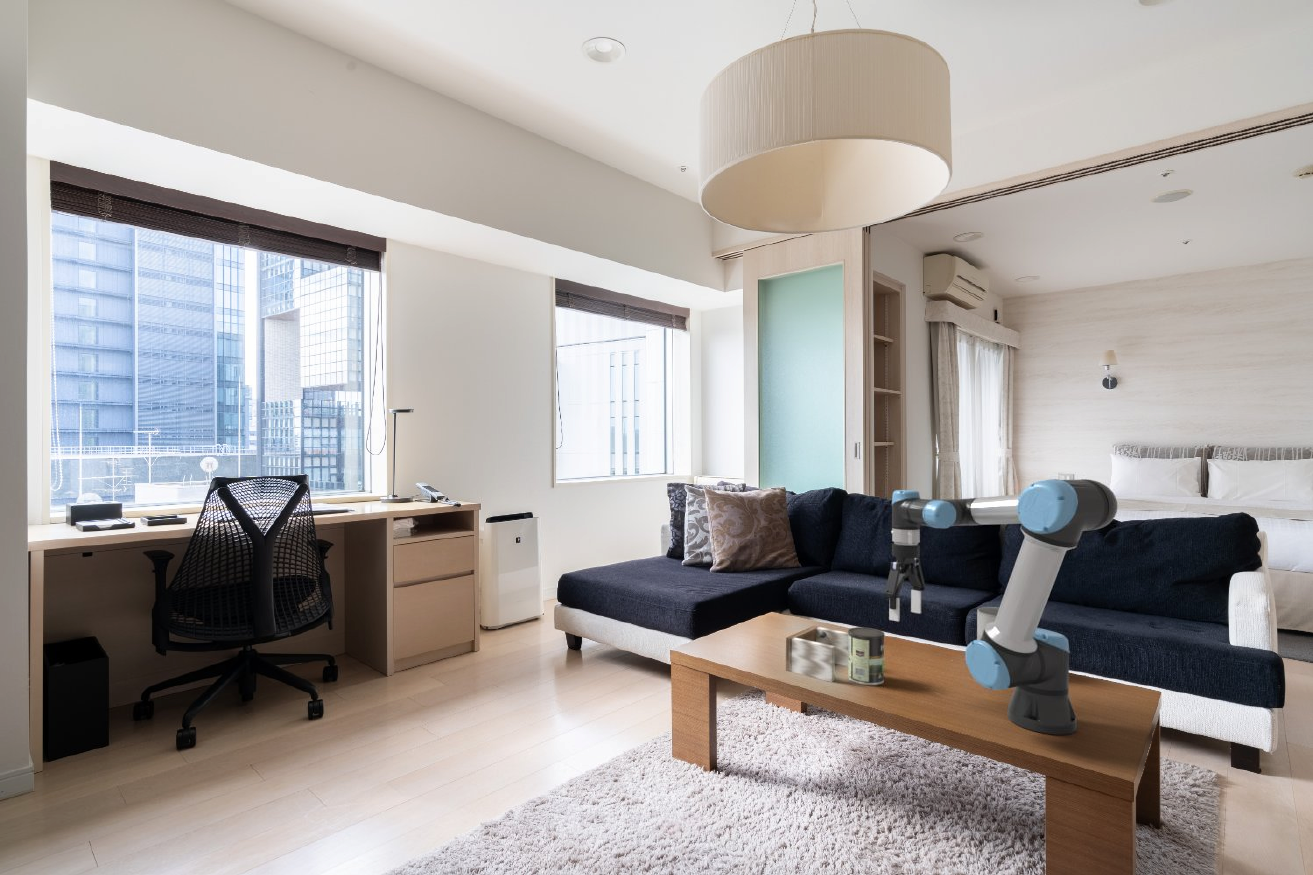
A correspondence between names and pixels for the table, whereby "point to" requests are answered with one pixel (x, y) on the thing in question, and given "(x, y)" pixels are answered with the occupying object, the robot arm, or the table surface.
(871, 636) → the coffee can
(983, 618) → the planter
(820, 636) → the holder
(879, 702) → the table surface
